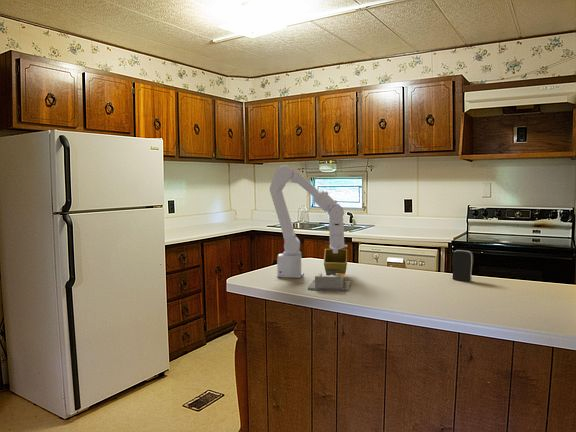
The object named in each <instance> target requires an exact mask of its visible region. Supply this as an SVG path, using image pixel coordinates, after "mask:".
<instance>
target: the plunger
mask: <svg viewBox="0 0 576 432" xmlns="http://www.w3.org/2000/svg"><path fill="white" fill-rule="evenodd" d="M346 274H347V273H345V274H340V270H326V272H325V275H323V274H322V276H329V277H339V276H340V275H344V276H346Z"/></svg>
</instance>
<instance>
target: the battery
mask: <svg viewBox="0 0 576 432" xmlns="http://www.w3.org/2000/svg"><path fill="white" fill-rule="evenodd" d="M473 265H474V253H473V251H471V250H465V249H456V250H455V251H453V253H452V280H455V281H461V282H472V279H473V278H472V276H473V275H472V271H473Z"/></svg>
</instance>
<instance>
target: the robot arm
mask: <svg viewBox="0 0 576 432" xmlns="http://www.w3.org/2000/svg"><path fill="white" fill-rule="evenodd" d="M289 181H290V183H293V184H298V186H300V187H301V188H302V189H304V191H306V192H307V193H308V194H310V196H312V199H313V202H314V203H315V204H316V205H317V206H318V207H319V208H320V209H322V210H323V211H324V212H326V213H327V214H328V216H329V223H328V228H329V234H328V235H329V249H332V250H333V253H338V250H339V249H345V248H348V244H345V227H344V225H345V224H344V215H345V211H344V208H343V207H342V206H341V204H339V203H338V201H337V200H335V199H333V198H332V197H331V196H330V195H329V194H330V193H329V192H328V191H325V190H318V189H317V188H316V187H315V186H314V185H312V183H310V181H309V180H307V179H306V177H304V176H303V175H302V174H301V173H300V172H297V171H296V170H295V169H292V168H291V167H290V166H289V165H286V164H284V165H283V164H282V165H280V166H278V168H277V169H276V170H275V171H274V173H273V176H272V180H271V183H270V186H269V192H270V196H271V199H272V202H273V206H274V209H275V212H276V213H275V214H276V217H277V219H278V222H279V225H280V228H281V232H282V236H283V240H284V243H283V249H284V251H283V252H282V253H278V254H277V259H276V261H277V263H276V265H277V266H276V267H277V269H276V271H277V275H276V277H278V278H296V279H297V278H298V279H300V278H301V277H303V275H304V274H305V273H304V272H303V271H302V252H301V251H300V249H301V241H300V239H299V237H298V236H297V235H296V232H295V229H294V227H293V224H292V220H291V217H290V213H289V209H288V207H287V204H286V200H285V196H284V193H283V189H285V187H286V185H287V183H288V182H289Z"/></svg>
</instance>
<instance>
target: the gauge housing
mask: <svg viewBox="0 0 576 432" xmlns="http://www.w3.org/2000/svg"><path fill="white" fill-rule="evenodd" d="M322 275H323V273H321V272H319V273H318V274H317V275H314V279H313V280H312V281H311V283H310V284H309V285H308V287H307V290H308V291H322V292H323V291H324V292H344V293H345V292H346V293H347V292H349V291H350V287H351V283H352V282H351V281H350V280H347V281H346V280H344V277H345V275H340V276H339V277H329V276H322Z"/></svg>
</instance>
